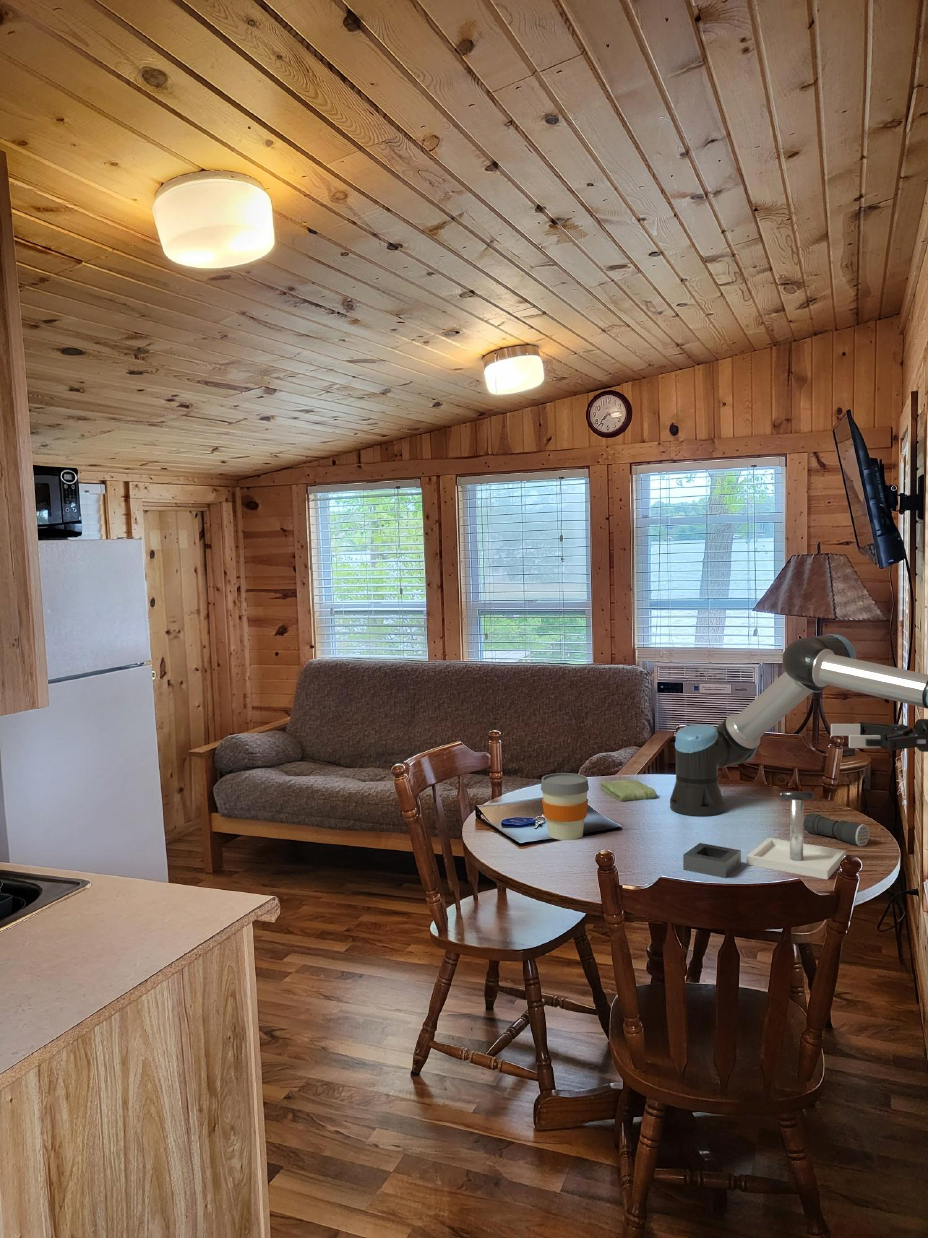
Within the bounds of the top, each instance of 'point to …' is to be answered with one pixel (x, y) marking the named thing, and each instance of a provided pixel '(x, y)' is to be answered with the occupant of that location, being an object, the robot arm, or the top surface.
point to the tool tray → (814, 861)
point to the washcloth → (628, 790)
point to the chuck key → (796, 821)
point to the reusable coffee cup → (565, 804)
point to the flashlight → (837, 829)
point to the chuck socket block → (712, 860)
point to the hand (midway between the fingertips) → (839, 735)
